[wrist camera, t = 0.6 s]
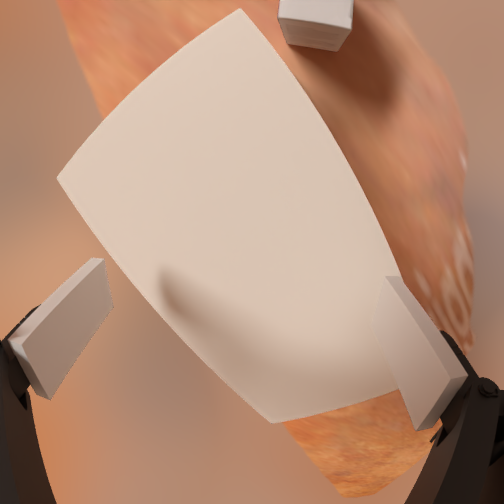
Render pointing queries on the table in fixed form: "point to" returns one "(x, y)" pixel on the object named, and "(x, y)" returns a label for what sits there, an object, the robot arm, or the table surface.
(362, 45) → the table surface
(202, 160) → the cabinet
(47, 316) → the robot arm
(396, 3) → the table surface
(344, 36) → the small box
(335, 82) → the table surface
